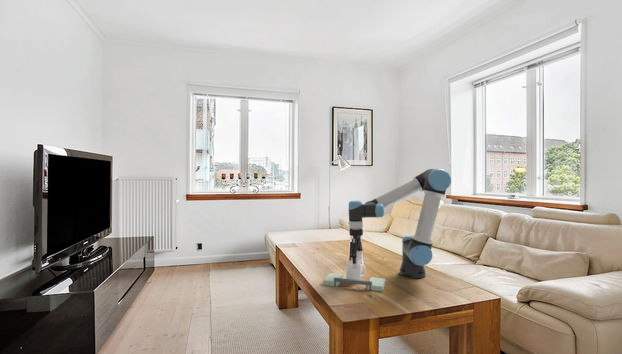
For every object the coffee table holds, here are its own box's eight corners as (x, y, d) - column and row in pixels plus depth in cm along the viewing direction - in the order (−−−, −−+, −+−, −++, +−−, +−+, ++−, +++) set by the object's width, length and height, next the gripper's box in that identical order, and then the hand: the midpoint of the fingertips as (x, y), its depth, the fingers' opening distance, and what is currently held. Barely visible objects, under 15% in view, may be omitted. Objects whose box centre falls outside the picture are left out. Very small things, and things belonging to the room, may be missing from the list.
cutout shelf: (385, 283, 179) (385, 275, 179) (382, 291, 167) (382, 283, 167) (329, 277, 190) (329, 270, 190) (323, 284, 177) (323, 277, 177)
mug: (369, 282, 180) (369, 263, 180) (349, 284, 178) (349, 265, 177) (363, 277, 189) (363, 259, 189) (344, 279, 186) (344, 260, 186)
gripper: (353, 224, 195) (354, 259, 195) (344, 232, 171) (345, 271, 172) (366, 224, 193) (367, 259, 193) (358, 232, 169) (359, 272, 169)
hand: (357, 265), depth 182 cm, fingers open, 13 cm apart
